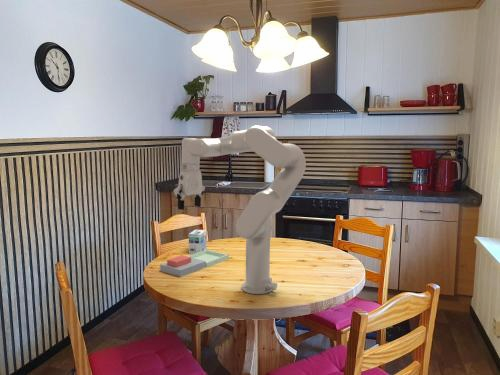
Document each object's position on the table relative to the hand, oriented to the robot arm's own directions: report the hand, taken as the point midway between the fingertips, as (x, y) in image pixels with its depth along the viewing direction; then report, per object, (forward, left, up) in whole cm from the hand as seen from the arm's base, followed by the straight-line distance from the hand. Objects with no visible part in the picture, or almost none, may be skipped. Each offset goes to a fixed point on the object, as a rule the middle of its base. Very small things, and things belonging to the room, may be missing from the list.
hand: (189, 207), depth 165 cm
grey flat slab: (+9, -5, -30) cm, 32 cm away
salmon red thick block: (+9, -3, -27) cm, 29 cm away
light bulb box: (+23, -30, -30) cm, 48 cm away
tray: (+9, -21, -30) cm, 38 cm away
